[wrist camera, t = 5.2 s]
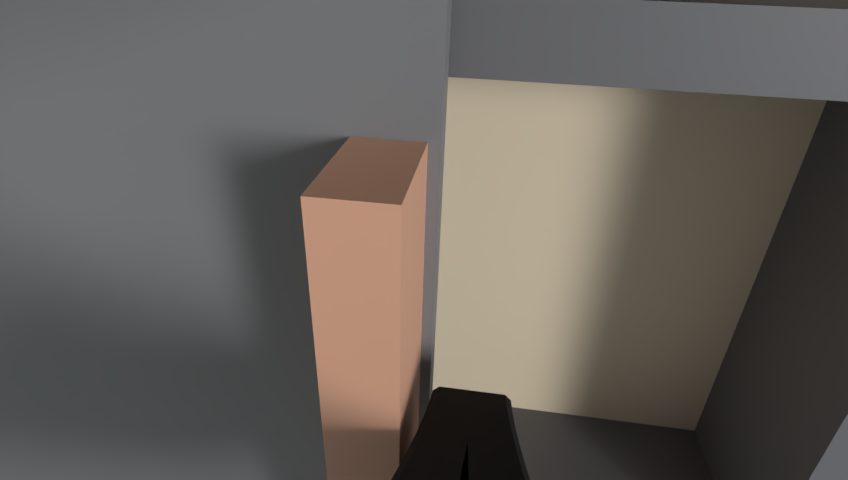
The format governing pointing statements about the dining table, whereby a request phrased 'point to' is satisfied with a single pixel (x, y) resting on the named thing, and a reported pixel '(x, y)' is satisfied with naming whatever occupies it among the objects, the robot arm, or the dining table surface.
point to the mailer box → (651, 234)
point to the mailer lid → (218, 236)
